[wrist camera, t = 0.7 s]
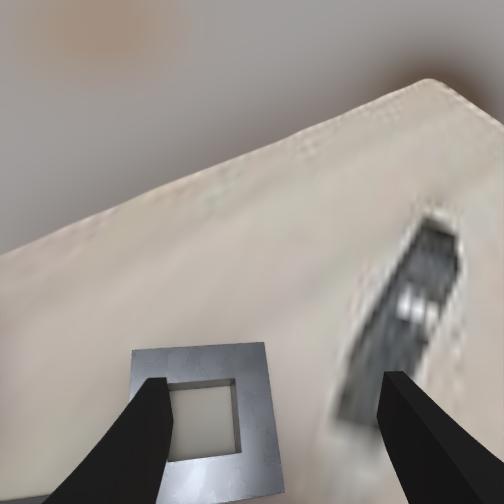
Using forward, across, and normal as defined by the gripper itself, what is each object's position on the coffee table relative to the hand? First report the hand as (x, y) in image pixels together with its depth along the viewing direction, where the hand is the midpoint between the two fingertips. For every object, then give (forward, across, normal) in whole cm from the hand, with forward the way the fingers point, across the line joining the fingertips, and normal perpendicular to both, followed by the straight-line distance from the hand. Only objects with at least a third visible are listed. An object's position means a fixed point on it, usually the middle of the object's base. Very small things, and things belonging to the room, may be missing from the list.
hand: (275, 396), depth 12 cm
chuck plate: (+8, +4, +11) cm, 15 cm away
